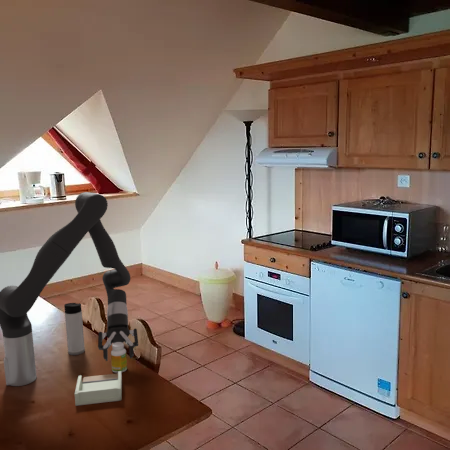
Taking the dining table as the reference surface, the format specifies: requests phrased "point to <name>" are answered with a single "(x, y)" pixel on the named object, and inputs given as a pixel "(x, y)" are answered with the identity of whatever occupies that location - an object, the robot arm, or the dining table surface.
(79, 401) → the tray
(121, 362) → the supplement bottle
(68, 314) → the travel mug
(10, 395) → the dining table surface
